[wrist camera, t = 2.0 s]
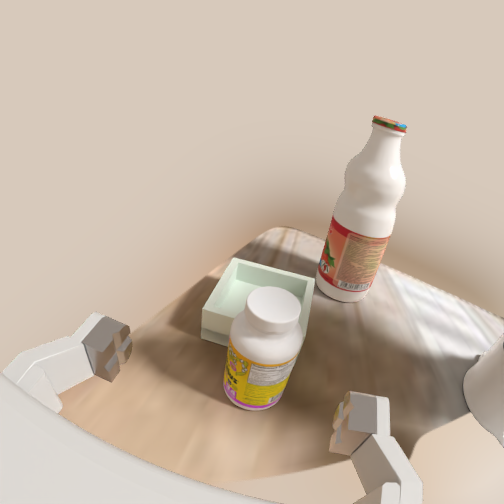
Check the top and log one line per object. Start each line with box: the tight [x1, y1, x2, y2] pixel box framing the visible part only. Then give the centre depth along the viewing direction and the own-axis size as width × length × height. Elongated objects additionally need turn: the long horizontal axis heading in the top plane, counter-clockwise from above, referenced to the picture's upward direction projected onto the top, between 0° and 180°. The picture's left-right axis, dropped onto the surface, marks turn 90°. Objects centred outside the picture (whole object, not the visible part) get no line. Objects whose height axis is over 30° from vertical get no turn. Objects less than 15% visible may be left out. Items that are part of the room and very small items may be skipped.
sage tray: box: [201, 257, 315, 365], centre depth 42 cm, size 12×12×5 cm
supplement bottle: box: [223, 286, 303, 411], centre depth 30 cm, size 7×7×13 cm
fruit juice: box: [316, 116, 407, 302], centre depth 45 cm, size 9×9×28 cm
